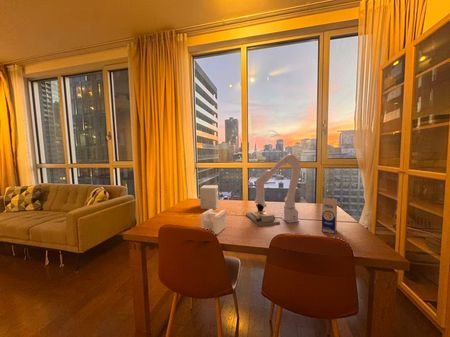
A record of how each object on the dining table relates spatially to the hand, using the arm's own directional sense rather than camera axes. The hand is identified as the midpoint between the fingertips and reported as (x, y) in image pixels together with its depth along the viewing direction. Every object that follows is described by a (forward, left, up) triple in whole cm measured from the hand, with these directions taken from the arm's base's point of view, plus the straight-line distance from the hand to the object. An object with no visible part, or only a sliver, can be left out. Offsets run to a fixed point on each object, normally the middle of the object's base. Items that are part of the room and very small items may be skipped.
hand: (260, 214), depth 147 cm
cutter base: (-2, 0, -3) cm, 3 cm away
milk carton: (-33, -28, -3) cm, 43 cm away
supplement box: (+41, +28, -3) cm, 50 cm away
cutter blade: (-5, 0, -1) cm, 5 cm away
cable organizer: (-11, +35, -3) cm, 37 cm away
